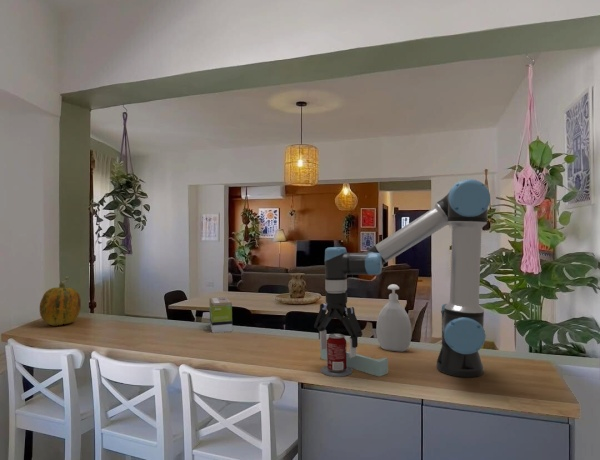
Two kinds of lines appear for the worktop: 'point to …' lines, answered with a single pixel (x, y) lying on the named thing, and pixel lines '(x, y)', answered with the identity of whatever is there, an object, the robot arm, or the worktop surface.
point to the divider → (364, 363)
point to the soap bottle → (393, 325)
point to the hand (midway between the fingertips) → (337, 352)
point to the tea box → (220, 314)
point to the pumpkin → (60, 305)
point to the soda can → (336, 353)
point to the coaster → (336, 374)
